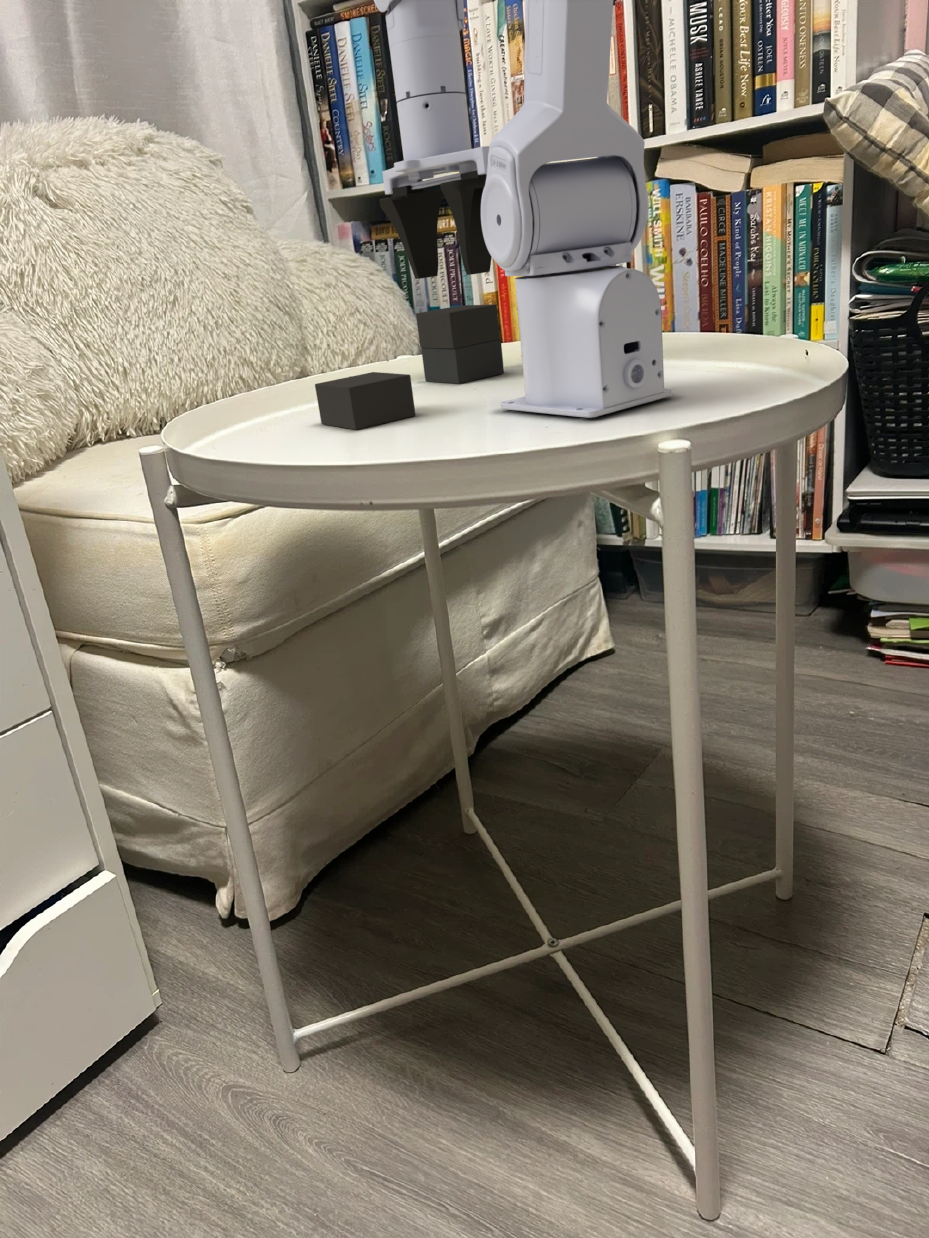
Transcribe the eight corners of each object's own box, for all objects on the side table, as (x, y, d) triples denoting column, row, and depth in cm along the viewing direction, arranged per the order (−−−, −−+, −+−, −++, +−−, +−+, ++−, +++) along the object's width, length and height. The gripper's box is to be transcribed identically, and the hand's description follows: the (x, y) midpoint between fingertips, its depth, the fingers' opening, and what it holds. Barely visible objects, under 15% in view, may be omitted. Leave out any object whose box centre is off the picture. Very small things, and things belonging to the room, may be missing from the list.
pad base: (504, 373, 85) (501, 339, 84) (459, 384, 82) (454, 348, 81) (469, 371, 89) (465, 338, 88) (424, 381, 86) (420, 347, 85)
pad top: (416, 415, 70) (410, 374, 68) (355, 430, 67) (349, 387, 66) (379, 410, 74) (373, 371, 72) (321, 424, 71) (314, 384, 70)
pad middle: (500, 339, 84) (496, 304, 82) (453, 349, 81) (449, 312, 80) (465, 339, 88) (461, 305, 86) (419, 348, 85) (415, 313, 84)
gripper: (344, 117, 80) (369, 284, 85) (444, 82, 69) (465, 277, 74) (412, 114, 84) (431, 275, 89) (517, 81, 73) (532, 267, 78)
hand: (451, 275), depth 82 cm, fingers open, 7 cm apart
